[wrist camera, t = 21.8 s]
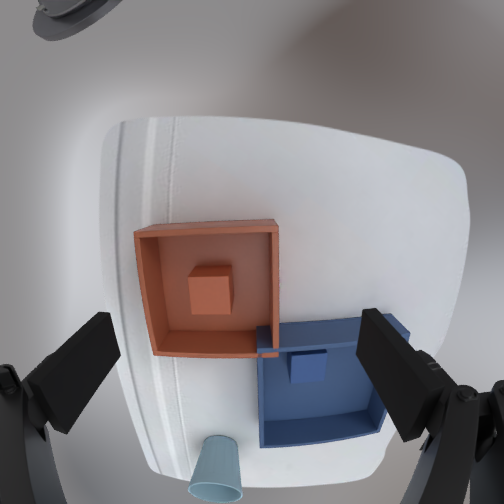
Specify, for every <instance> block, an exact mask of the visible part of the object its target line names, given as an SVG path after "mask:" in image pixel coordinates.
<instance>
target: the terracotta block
mask: <svg viewBox="0 0 504 504" xmlns="http://www.w3.org/2000/svg"><path fill="white" fill-rule="evenodd" d="M187 280H188V290H189V298H190V307H191V314H192V315H231V313H232V307H233V301H234V293H233V275H232V265H218V266H195V268H194V269H193V270H192V271H191V273H190V274H189V275H188V277H187Z"/></svg>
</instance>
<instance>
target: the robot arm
mask: <svg viewBox="0 0 504 504" xmlns="http://www.w3.org/2000/svg"><path fill="white" fill-rule="evenodd" d="M90 1H92V0H38V2H39V4H40V6H38V7H37V9H38V10H43V12H44V13H45V14H46V15H47V16H49V17H50V18H52V19H58V18H62V17H65V16H67V15H70V14H72V13H74V12H75V11H77V10H79V9H80V8H82V7H83V6H85V5H86V4H88V3H89V2H90ZM120 356H121V354H120V350H119V347H118V343H117V339H116V336H115V332H114V328H113V323H112V319H111V315H110V313H109V312H98V313H97V314H96V315H94V317H92V318H91V319H90V320H89V321H88V322H87V323H86V324H84V325H83V326H82V327H81V328H80V329H79V330H78V331H77V332H76V333H75V334H74V335H72V336H71V337H70V338H69V339H68V340H67V341H66V342H65V343H64V344H63V345H62V346H61V347H60V348H59V349H58V350H56V351H55V352H54V353H52V354H50V355H49V356H47V357H46V358H45V359H44V360H43V361H42V363H40V364H39V365H38V366H37V368H35V369H34V370H33V371H31V373H29V374H28V375H27V377H25V379H23V380H22V381H20V379H19V377H18V375H17V373H16V371H15V368H14V367H13V366H12V365H9V364H3V365H0V504H67V502H66V499H65V496H64V493H63V490H62V487H61V483H60V480H59V476H58V473H57V469H56V465H55V461H54V457H53V453H52V448H51V444H50V438H49V432H48V429H47V427H46V425H45V424H46V422H47V421H49V422H50V424H51V425H52V427H53V428H54V430H56V431H59V432H61V433H64V434H68V432H69V431H70V429H71V428H72V426H73V425H74V423H75V422H76V420H77V418H78V417H79V415H80V414H81V412H82V411H83V409H84V408H85V406H86V405H87V403H88V402H89V400H90V399H91V398H92V396H93V395H94V393H95V392H96V390H97V389H98V387H99V386H100V384H101V383H102V381H103V380H104V379H105V377H106V376H107V374H108V373H109V371H110V370H111V369H112V367H113V366H114V364H115V363H116V362H117V360H118V359H119V358H120ZM356 356H357V358H358V359H359V361H360V363H361V365H362V366H363V368H364V370H365V372H366V373H367V375H368V377H369V379H370V381H371V382H372V384H373V386H374V388H375V390H376V391H377V393H378V395H379V397H380V399H381V401H382V402H383V404H384V406H385V408H386V410H387V412H388V413H389V415H390V417H391V419H392V421H393V423H394V425H395V427H396V429H397V430H398V432H399V434H400V436H401V438H402V440H403V442H407V441H410V440H413V439H416V438H419V437H420V436H421V434H422V433H423V431H424V429H425V427H426V429H427V430H428V432H429V435H428V437H427V438H426V440H425V442H424V443H423V445H422V447H421V448H420V450H422V449H423V450H422V453H421V456H420V459H419V461H418V464H417V466H416V469H415V471H414V474H413V476H412V479H411V481H410V483H409V486H408V488H407V490H406V492H405V494H404V497H403V499H402V501H401V503H400V504H463V502H464V499H465V495H466V491H467V487H468V483H469V479H470V504H504V380H500V381H497V382H496V383H495V384H494V386H493V388H492V391H491V392H484V393H478V392H477V391H476V390H475V389H474V388H473V387H471V386H467V385H459V386H458V385H457V384H456V383H455V382H454V381H453V380H452V379H451V377H450V376H449V375H448V374H447V373H446V372H445V371H444V370H443V368H441V366H440V365H439V364H438V363H436V361H435V360H434V359H433V358H432V357H431V356H430V355H429V354H427V353H426V352H424V351H422V350H419V351H415V350H414V349H413V348H412V346H411V345H410V344H409V343H408V342H407V341H406V340H405V339H404V338H403V337H402V335H401V334H400V333H399V332H398V331H397V330H396V329H395V328H394V327H393V326H392V325H391V324H390V323H389V321H388V320H387V319H386V318H385V317H384V316H383V315H382V314H381V313H380V312H379V311H378V310H377V309H376V308H372V309H363V310H362V318H361V325H360V331H359V337H358V343H357V349H356ZM496 432H497V434H496Z"/></svg>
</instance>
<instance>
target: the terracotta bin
mask: <svg viewBox="0 0 504 504" xmlns="http://www.w3.org/2000/svg"><path fill="white" fill-rule="evenodd" d="M278 231H279V230H278V225H277V223H276V222H275V221H274V219H263V220H234V221H210V222H189V223H171V224H155V225H151V226H148V227H146V228H143V229H140V230H137V231H135V232H134V243H135V252H136V260H137V268H138V275H139V282H140V289H141V295H142V301H143V307H144V312H145V318H146V323H147V328H148V333H149V338H150V342H151V347H152V351H153V355H155V356H169V357H189V358H258V357H260V356H261V354H258V353H257V338H256V326H268V325H270V328H271V336H272V345H273V348H275V349H276V348H277V349H278V348H279V233H278ZM218 265H232V275H233V293H234V301H233V307H232V313H231V315H192V314H191V307H190V298H189V290H188V280H187V277H188V275H189V274H190V273H191V271H192V270H193V269H194V268H195V266H218ZM275 349H274V350H275ZM258 355H260V356H258ZM269 357H279V352H273V353H262V358H269ZM260 358H261V357H260Z"/></svg>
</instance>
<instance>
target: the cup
mask: <svg viewBox="0 0 504 504" xmlns="http://www.w3.org/2000/svg"><path fill="white" fill-rule="evenodd" d="M188 490H189V492H190V493H191V494H192V495H193V496H195V497H197V498H199V499H202V500H205V501H209V502H216V503H227V502H228V503H229V502H234V501H237V500H239V499H241V498H242V486H241V477H240V466H239V456H238V446H237V444H236V442H235V441H234V440H232V439H231V438H228V437H225V436H211V437H209V438H207V439H206V440H205V441H204V444H203V447H202V450H201V453H200V456H199V459H198V461H197V464H196V467H195V470H194V473H193V476H192V478H191V481H190V484H189V487H188Z"/></svg>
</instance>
